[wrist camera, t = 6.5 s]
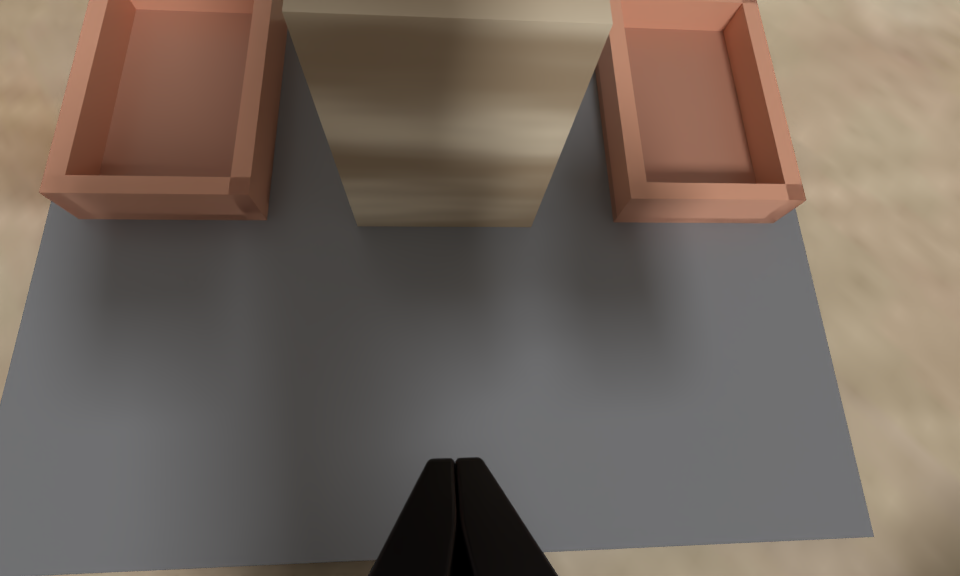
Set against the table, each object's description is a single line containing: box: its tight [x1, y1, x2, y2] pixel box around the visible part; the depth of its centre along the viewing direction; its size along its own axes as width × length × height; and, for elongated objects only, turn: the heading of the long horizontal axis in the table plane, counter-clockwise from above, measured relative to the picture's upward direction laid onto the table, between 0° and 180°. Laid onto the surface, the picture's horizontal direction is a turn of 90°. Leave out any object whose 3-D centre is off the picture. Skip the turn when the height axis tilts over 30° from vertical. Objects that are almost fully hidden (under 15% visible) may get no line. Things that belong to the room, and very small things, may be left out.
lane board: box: [0, 29, 874, 576], centre depth 19 cm, size 30×26×3 cm
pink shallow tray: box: [595, 0, 806, 223], centre depth 19 cm, size 9×6×2 cm, turn 2°
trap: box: [39, 0, 288, 220], centre depth 18 cm, size 9×6×2 cm, turn 2°
